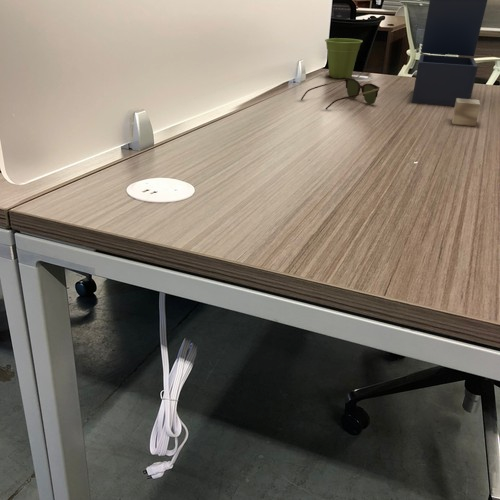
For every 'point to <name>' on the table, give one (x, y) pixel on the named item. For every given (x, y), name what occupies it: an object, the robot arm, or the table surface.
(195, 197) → the table surface
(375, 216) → the table surface
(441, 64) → the chest
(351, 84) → the sunglasses
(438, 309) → the table surface
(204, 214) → the table surface
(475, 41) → the lid
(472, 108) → the block
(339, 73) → the plant pot
